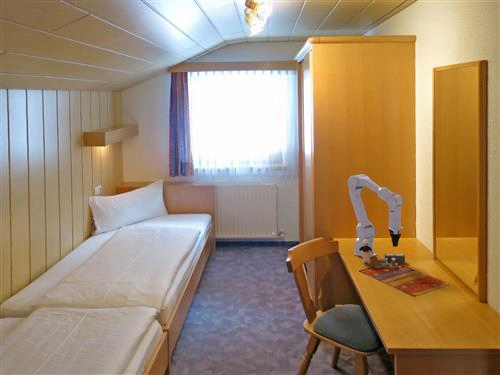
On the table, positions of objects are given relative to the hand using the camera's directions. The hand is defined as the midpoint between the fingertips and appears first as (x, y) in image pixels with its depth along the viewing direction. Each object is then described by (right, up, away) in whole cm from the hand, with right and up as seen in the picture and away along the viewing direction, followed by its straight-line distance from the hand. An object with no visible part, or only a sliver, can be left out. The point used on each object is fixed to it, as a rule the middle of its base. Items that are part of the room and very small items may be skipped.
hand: (394, 244), depth 272 cm
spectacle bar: (0, -9, +1) cm, 10 cm away
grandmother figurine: (-14, -10, +2) cm, 18 cm away
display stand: (-6, -10, -5) cm, 13 cm away
